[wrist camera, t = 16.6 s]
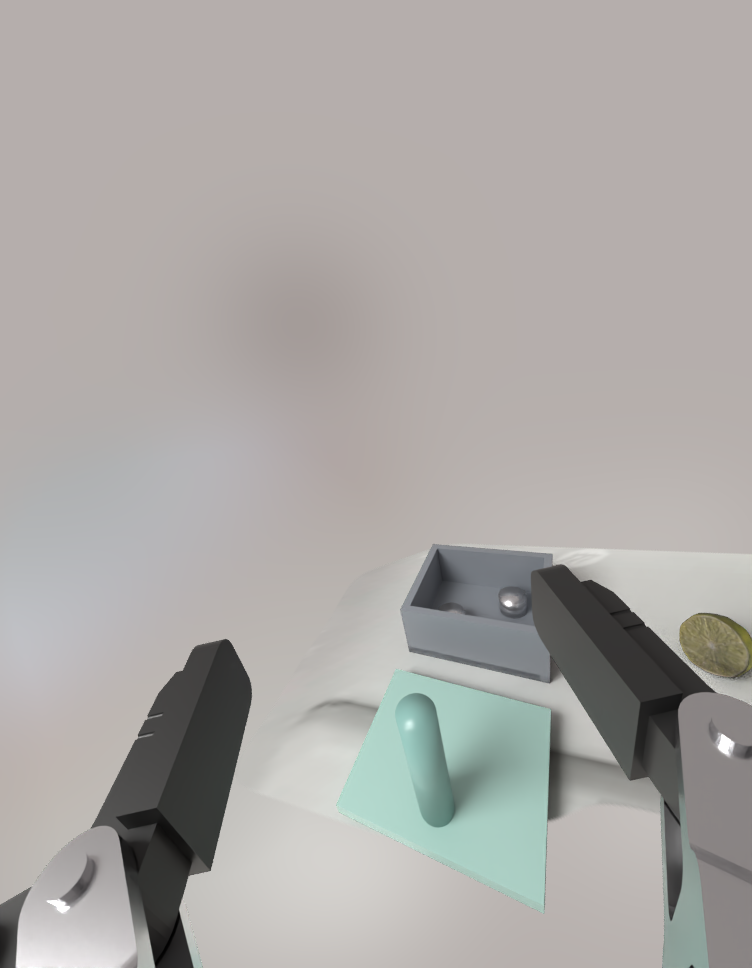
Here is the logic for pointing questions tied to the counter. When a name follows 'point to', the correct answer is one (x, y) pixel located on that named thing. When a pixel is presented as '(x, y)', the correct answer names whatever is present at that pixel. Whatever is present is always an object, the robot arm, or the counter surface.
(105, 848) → the robot arm
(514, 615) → the shiny rounded piece
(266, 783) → the counter surface
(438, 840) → the lid
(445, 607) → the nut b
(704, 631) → the lime
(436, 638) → the tub
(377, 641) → the counter surface
